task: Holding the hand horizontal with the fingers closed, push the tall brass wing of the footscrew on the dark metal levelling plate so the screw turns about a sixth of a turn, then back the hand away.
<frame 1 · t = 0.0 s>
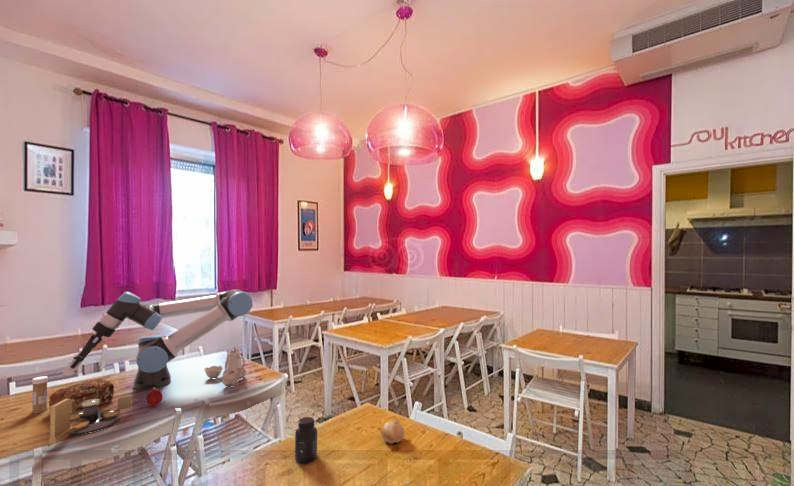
hand: (69, 370, 156), 15 cm above the table, tool tilted 35°, fingers open, 13 cm apart
onion: (154, 407, 157), on the table
onion 2: (392, 441, 131), on the table
sprinkles bottle: (39, 411, 152), on the table
footscrew: (69, 415, 131), point 8 cm above the table, hinge at 0.0°
supplement bottle: (306, 459, 120), on the table
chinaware: (228, 381, 188), on the table
bread: (82, 407, 156), on the table
tribrach plate: (90, 424, 141), on the table
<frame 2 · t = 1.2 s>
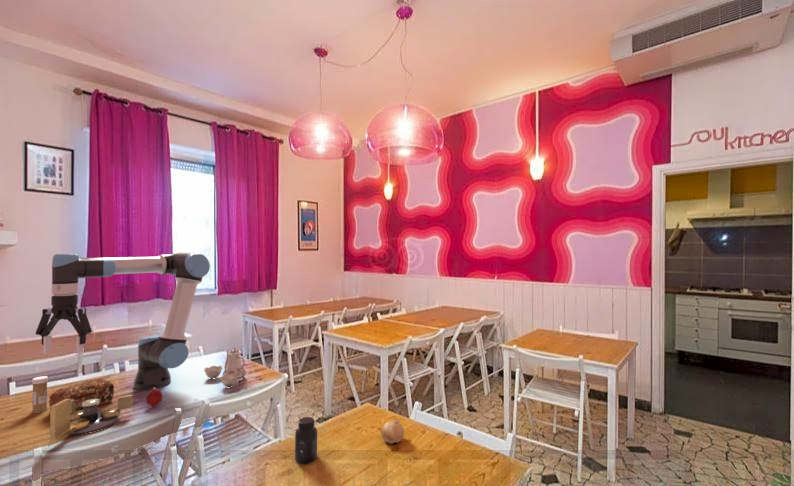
hand: (63, 353, 143), 26 cm above the table, tool pointing down, fingers open, 11 cm apart
nothing on the table moved.
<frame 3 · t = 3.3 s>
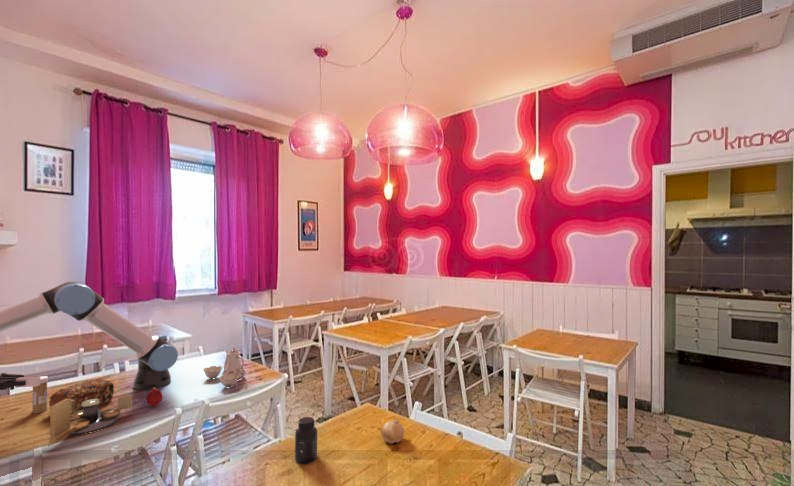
hand: (38, 381, 129), 20 cm above the table, tool horizontal, fingers closed
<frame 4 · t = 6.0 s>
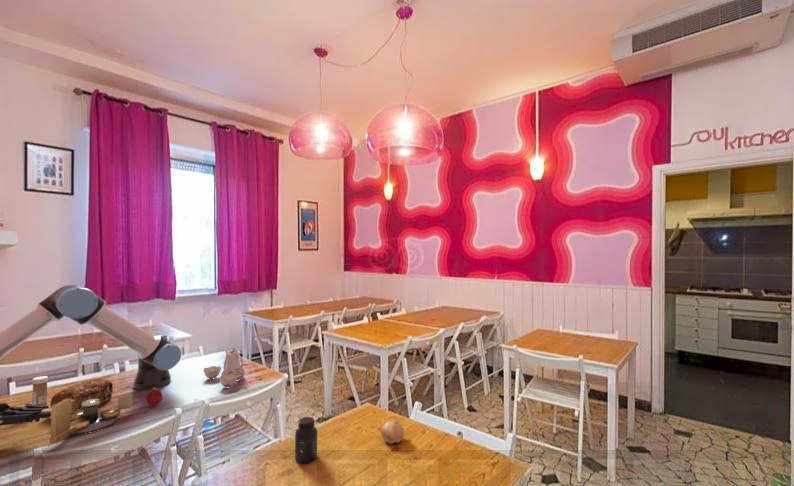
hand: (63, 413, 129), 9 cm above the table, tool horizontal, fingers closed
footscrew: (69, 415, 131), point 8 cm above the table, hinge at 1.0°, touching gripper
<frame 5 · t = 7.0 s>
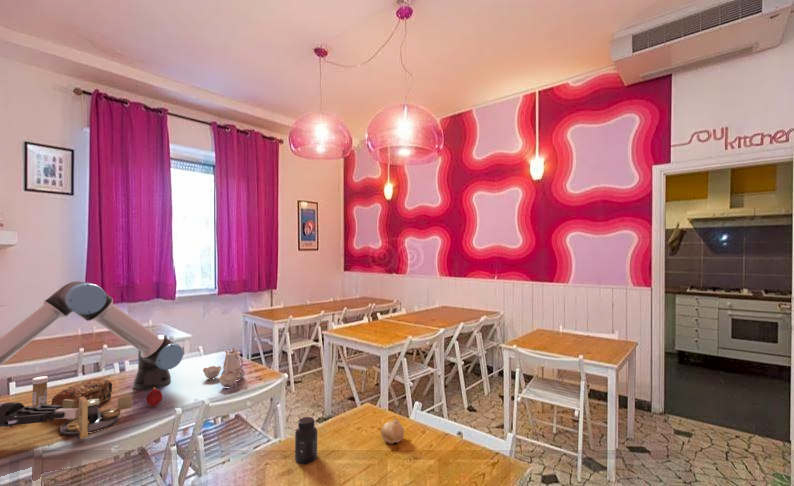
hand: (77, 413, 129), 9 cm above the table, tool horizontal, fingers closed
footscrew: (81, 413, 132), point 8 cm above the table, hinge at 42.6°, touching gripper
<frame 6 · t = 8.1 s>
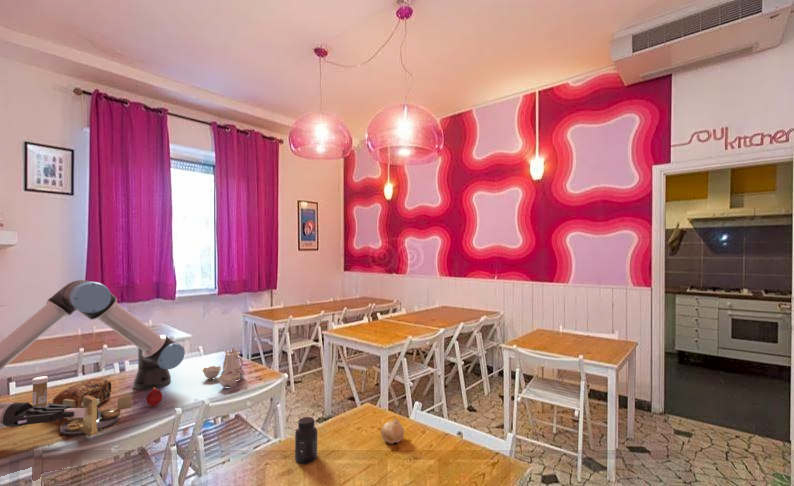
hand: (86, 412, 130), 9 cm above the table, tool horizontal, fingers closed
footscrew: (84, 412, 133), point 8 cm above the table, hinge at 55.6°, touching gripper
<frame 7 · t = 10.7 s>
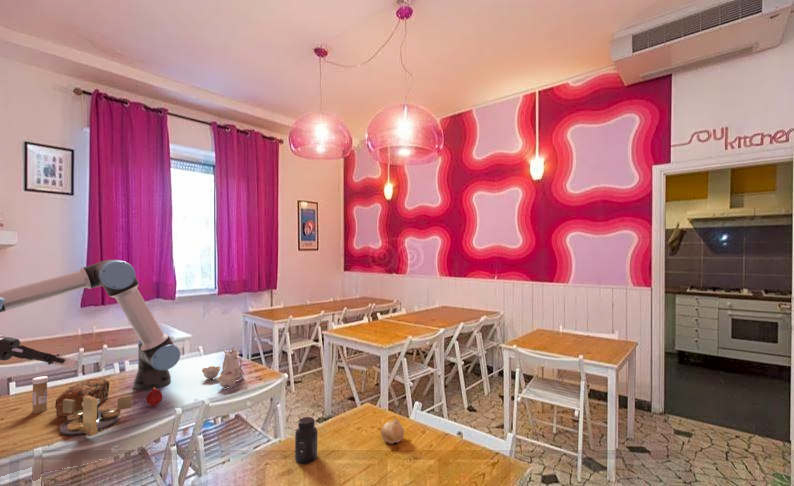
hand: (75, 364, 138), 24 cm above the table, tool tilted 70°, fingers closed
footscrew: (84, 412, 133), point 8 cm above the table, hinge at 55.6°
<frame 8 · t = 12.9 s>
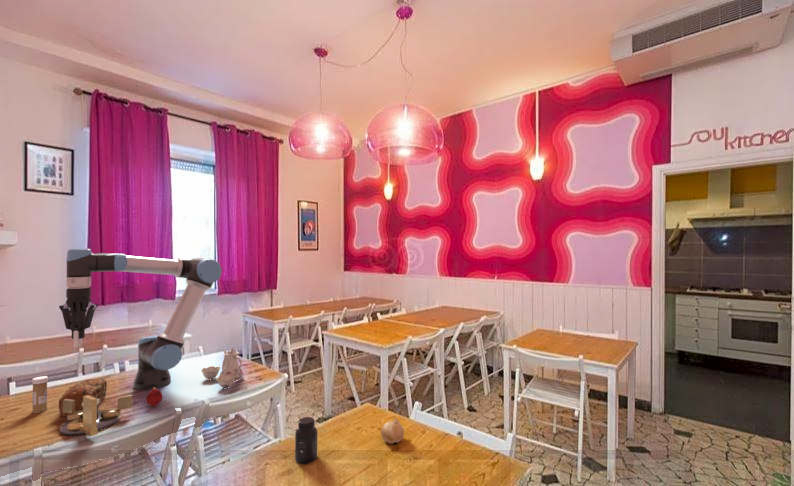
hand: (77, 346, 151), 26 cm above the table, tool pointing down, fingers closed
at the end: footscrew at +56° (first picture: +0°) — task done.
